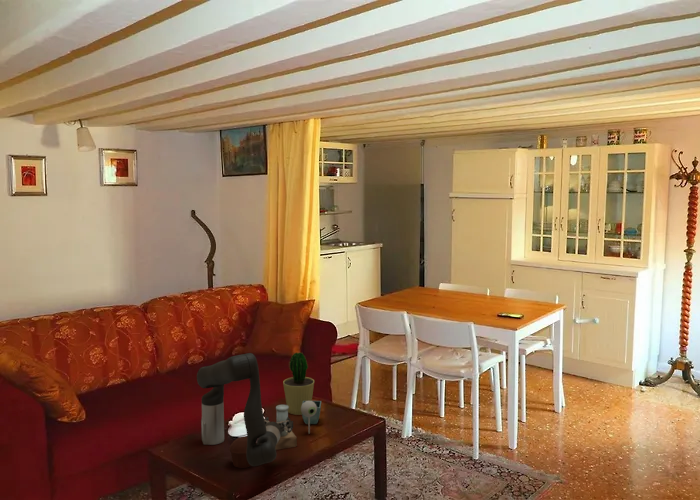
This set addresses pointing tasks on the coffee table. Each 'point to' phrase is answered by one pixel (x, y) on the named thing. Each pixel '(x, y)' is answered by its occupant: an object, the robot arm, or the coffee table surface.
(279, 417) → the vase
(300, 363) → the potted cactus
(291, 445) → the plinth
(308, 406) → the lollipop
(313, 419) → the flower pot
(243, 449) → the muffin
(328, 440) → the coffee table surface
